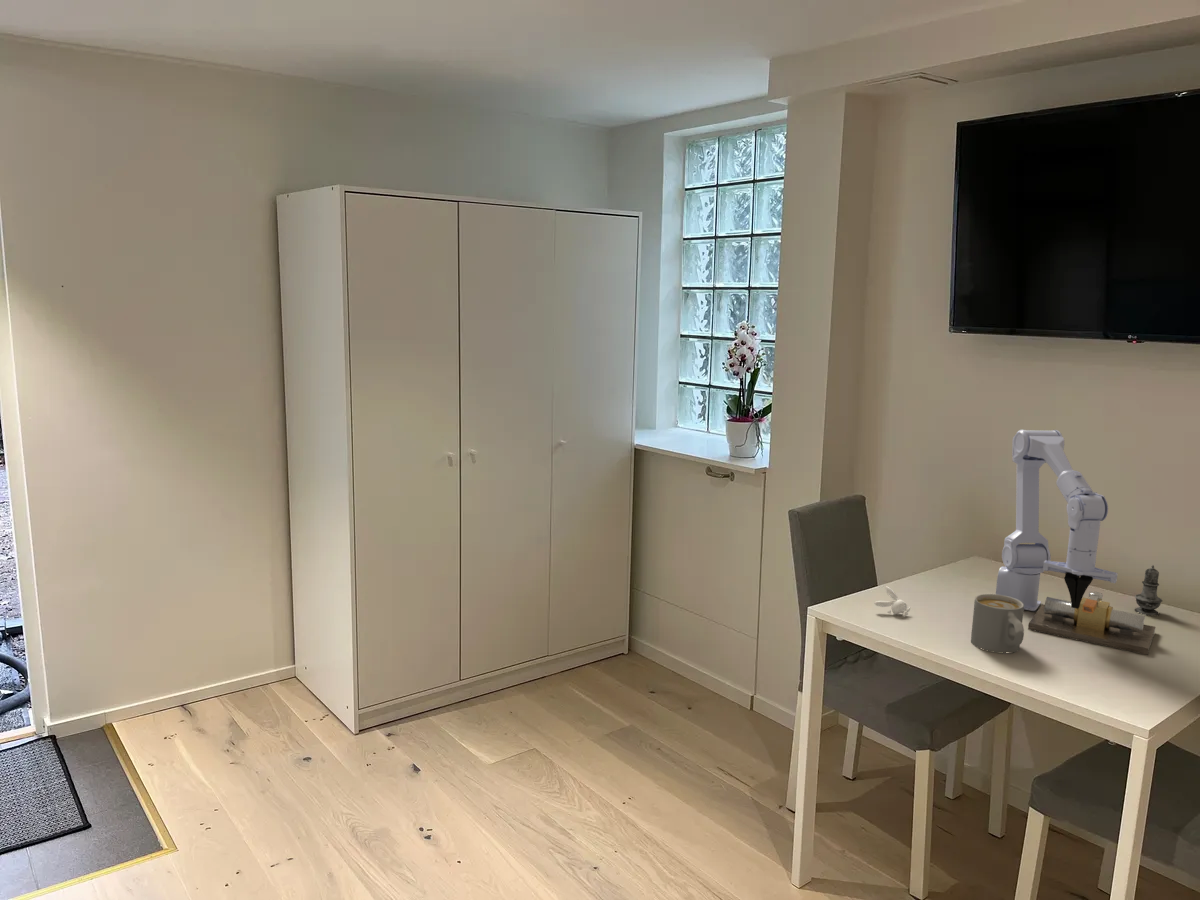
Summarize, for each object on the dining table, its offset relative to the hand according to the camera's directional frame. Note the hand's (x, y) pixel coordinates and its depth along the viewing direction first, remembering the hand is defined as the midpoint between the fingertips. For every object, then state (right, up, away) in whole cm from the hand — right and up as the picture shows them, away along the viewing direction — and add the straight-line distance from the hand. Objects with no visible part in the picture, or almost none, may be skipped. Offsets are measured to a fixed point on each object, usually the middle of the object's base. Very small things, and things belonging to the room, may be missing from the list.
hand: (1075, 607), depth 206 cm
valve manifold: (+7, -7, +7) cm, 12 cm away
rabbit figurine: (-36, -4, +17) cm, 40 cm away
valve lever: (+5, 0, +2) cm, 5 cm away
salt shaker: (+28, -5, +21) cm, 35 cm away
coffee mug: (-19, -9, -3) cm, 21 cm away
